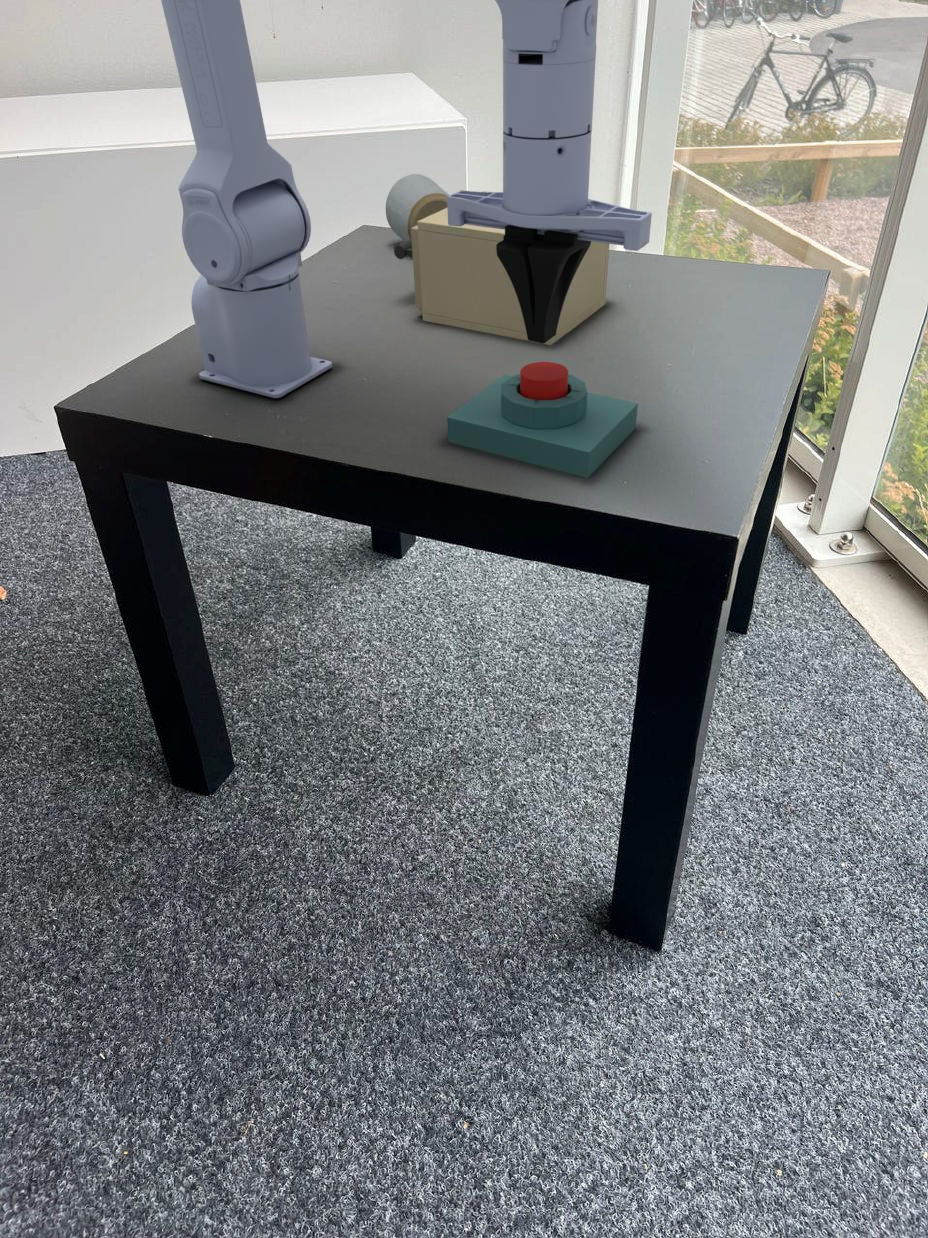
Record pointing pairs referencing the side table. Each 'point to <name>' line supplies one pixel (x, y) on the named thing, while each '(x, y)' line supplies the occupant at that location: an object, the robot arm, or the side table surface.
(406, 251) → the pulled-out drawer
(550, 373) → the button
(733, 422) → the side table surface
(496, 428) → the panel
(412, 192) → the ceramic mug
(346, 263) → the side table surface
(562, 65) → the robot arm
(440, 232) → the tan drawer box
